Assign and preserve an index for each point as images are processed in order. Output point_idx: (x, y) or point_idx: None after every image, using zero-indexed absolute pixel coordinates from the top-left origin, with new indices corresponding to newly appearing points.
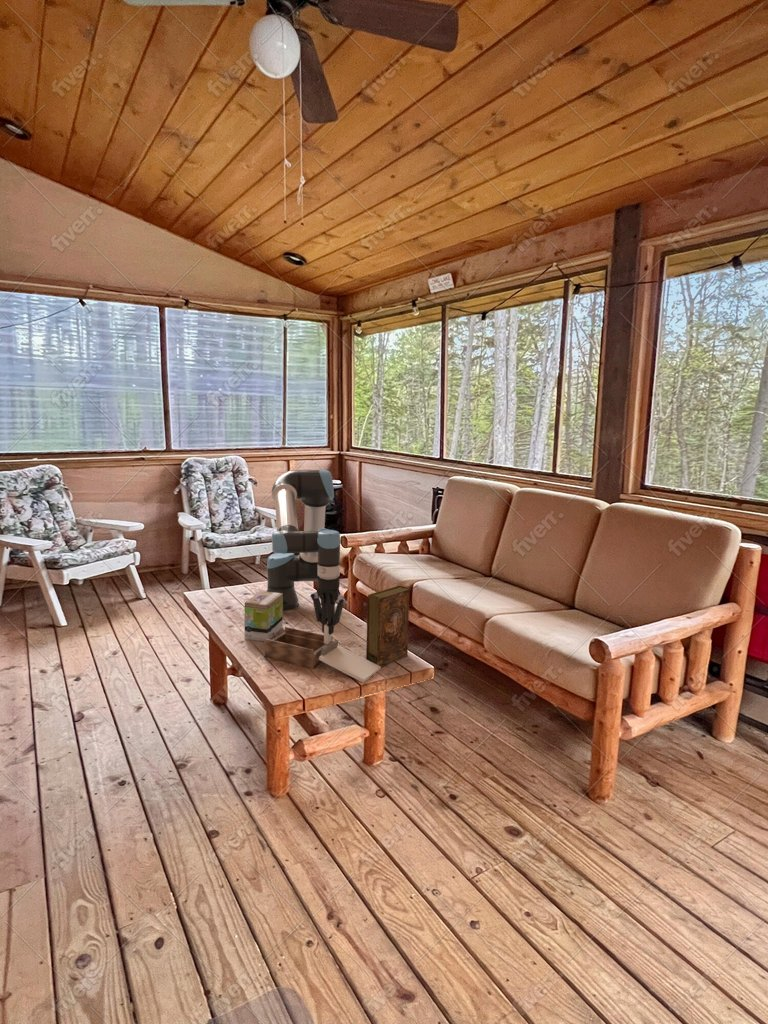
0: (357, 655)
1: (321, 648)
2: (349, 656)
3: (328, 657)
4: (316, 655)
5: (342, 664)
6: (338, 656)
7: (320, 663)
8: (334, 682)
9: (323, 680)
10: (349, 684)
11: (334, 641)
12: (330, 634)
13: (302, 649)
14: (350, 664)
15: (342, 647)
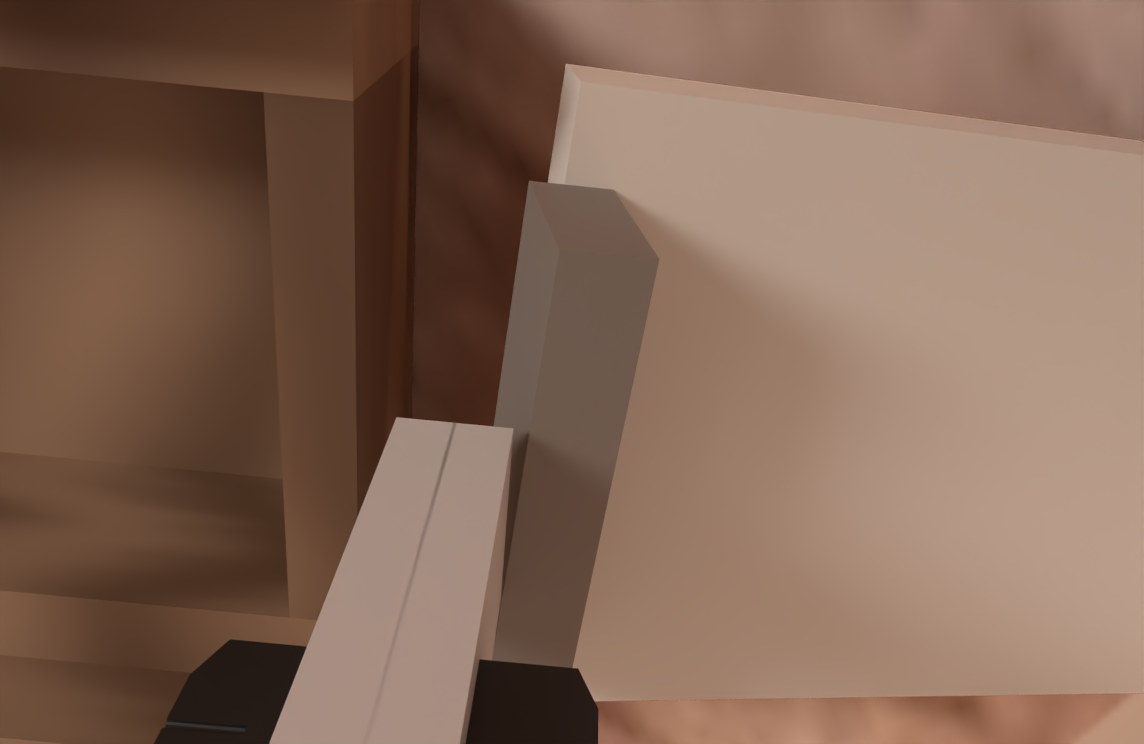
0: (1121, 176)
1: (331, 421)
2: (969, 330)
3: (628, 622)
4: None
5: (913, 618)
6: (775, 479)
7: (412, 359)
8: (844, 740)
9: (690, 739)
10: (1051, 727)
11: (581, 375)
12: (486, 630)
13: (95, 736)
14: (1039, 534)
15: (726, 105)
